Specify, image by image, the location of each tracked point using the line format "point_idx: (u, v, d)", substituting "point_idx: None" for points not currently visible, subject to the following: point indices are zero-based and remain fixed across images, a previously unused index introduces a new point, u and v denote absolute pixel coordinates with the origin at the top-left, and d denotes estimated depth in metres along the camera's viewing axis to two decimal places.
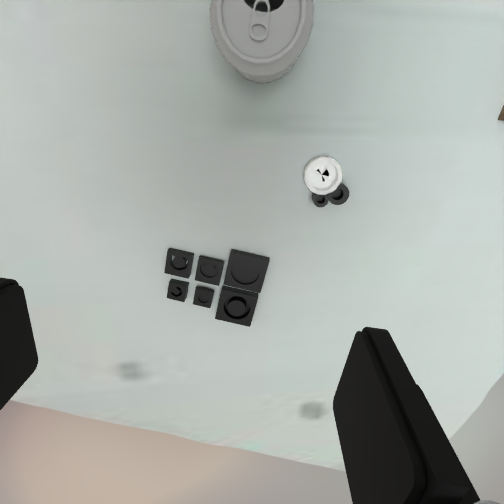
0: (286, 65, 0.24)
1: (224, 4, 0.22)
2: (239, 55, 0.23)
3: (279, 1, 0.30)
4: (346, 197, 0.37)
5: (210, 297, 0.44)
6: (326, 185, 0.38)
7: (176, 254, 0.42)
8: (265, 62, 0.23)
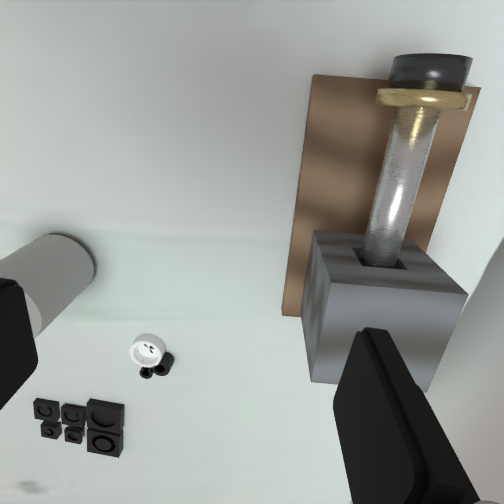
0: None
1: None
2: None
3: None
4: (167, 370, 0.42)
5: (78, 436, 0.49)
6: (155, 355, 0.43)
7: (41, 405, 0.47)
8: None
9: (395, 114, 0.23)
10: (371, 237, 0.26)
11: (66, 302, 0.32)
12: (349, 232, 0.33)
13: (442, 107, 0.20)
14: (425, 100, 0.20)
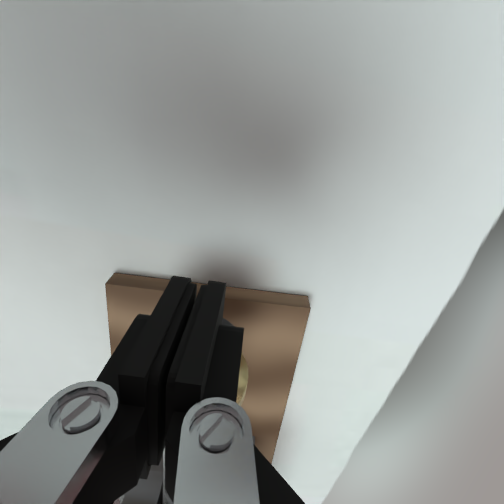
0: None
1: None
2: None
3: None
4: None
5: None
6: None
7: None
8: None
9: None
10: (163, 495, 0.21)
11: None
12: None
13: None
14: None
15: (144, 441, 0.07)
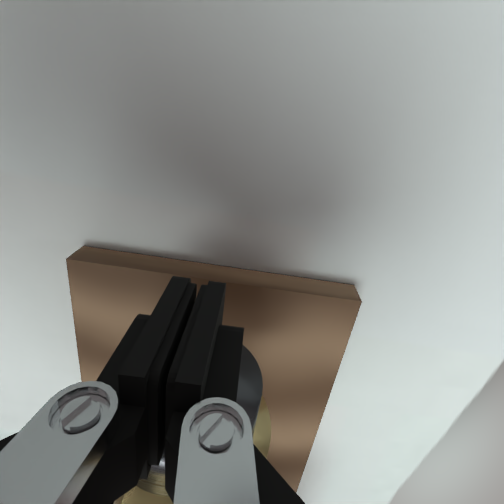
0: None
1: None
2: None
3: None
4: None
5: None
6: None
7: None
8: None
9: None
10: None
11: None
12: None
13: None
14: None
15: (144, 441, 0.07)
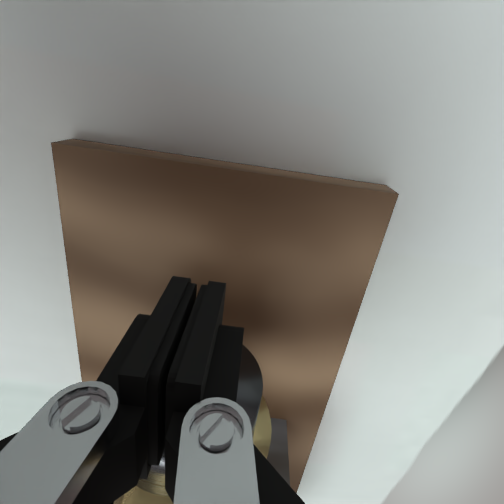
0: None
1: None
2: None
3: None
4: None
5: None
6: None
7: None
8: None
9: None
10: None
11: None
12: None
13: None
14: None
15: (144, 441, 0.07)
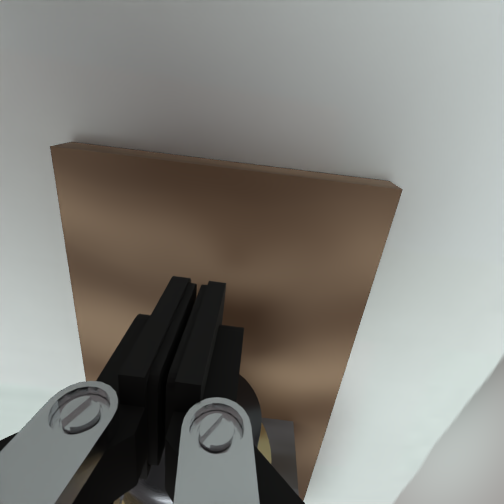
0: None
1: None
2: None
3: None
4: None
5: None
6: None
7: None
8: None
9: None
10: None
11: None
12: None
13: None
14: None
15: (144, 441, 0.07)
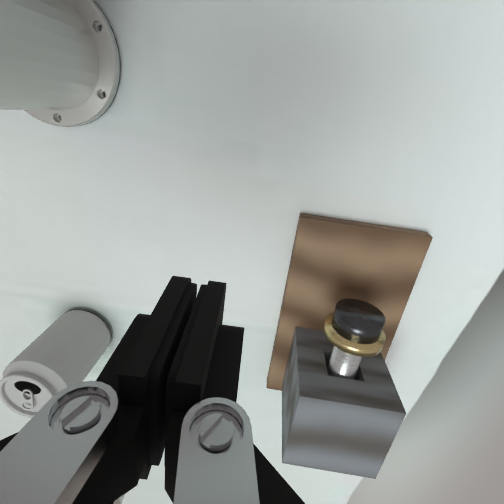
0: None
1: (5, 389, 0.34)
2: None
3: (90, 313, 0.43)
4: None
5: None
6: None
7: None
8: None
9: None
10: None
11: (87, 373, 0.39)
12: None
13: (361, 356, 0.30)
14: (350, 350, 0.30)
15: (144, 441, 0.07)
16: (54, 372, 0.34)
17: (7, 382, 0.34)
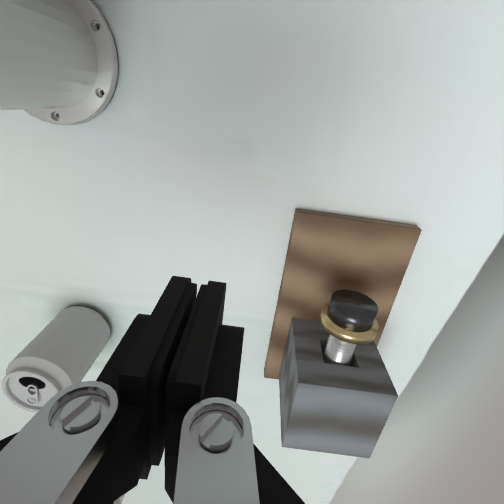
0: None
1: (9, 385, 0.35)
2: (24, 408, 0.36)
3: (90, 309, 0.43)
4: None
5: None
6: None
7: None
8: None
9: None
10: None
11: (89, 367, 0.40)
12: None
13: (356, 343, 0.32)
14: (346, 338, 0.32)
15: (144, 441, 0.07)
16: (58, 367, 0.35)
17: (11, 378, 0.34)
